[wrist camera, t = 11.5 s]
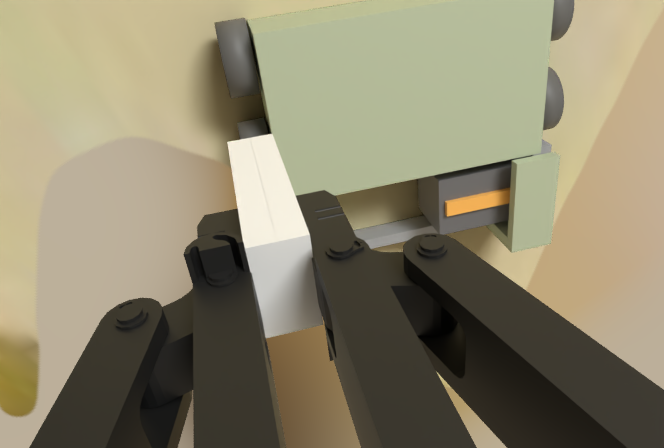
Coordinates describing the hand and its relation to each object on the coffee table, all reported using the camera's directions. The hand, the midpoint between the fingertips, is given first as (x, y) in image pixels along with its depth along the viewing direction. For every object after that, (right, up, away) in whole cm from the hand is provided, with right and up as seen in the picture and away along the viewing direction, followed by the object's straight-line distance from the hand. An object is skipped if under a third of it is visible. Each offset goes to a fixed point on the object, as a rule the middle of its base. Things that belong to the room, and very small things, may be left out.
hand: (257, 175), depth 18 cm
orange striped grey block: (+14, +3, +29) cm, 32 cm away
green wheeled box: (+7, +6, +25) cm, 27 cm away
